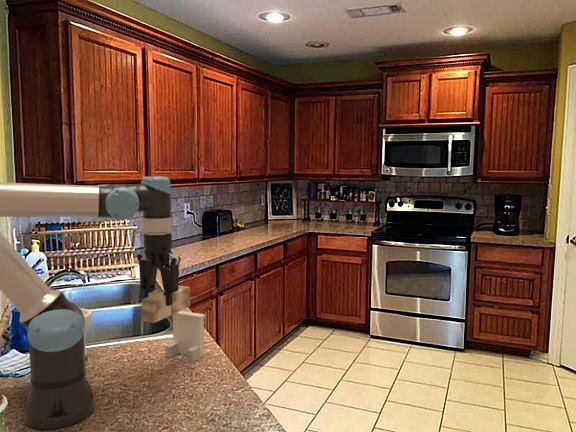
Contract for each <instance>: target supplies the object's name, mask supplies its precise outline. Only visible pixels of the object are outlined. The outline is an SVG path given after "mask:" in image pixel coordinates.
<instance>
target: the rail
mask: <svg viewBox="0 0 576 432" xmlns="http://www.w3.org/2000/svg"><path fill="white" fill-rule="evenodd" d="M190 288H191V287H190V286H184V285H179V290H178V291H177V292H174V293H173V294H172V300H173V303H172V305H171V316H173V314H175V313H177V312H180V311H184V310H186V309H188V308H190V307H191V291H190V290H191V289H190ZM168 290H169V289H168ZM163 293H164V290H163V291H161V292H157V294H155V295H153V296H150V297H147V296H146V297H144V298H143V299H141V314H142V316H141V317H142V318H141V320H142V322H146V323H151V324H153V323H154V324H155V323H157V322H159V321H161V320H164V319H165V318H163V312H162V295H163Z"/></svg>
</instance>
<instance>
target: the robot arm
mask: <svg viewBox="0 0 576 432" xmlns="http://www.w3.org/2000/svg"><path fill="white" fill-rule="evenodd" d="M140 212H141V213H142V224H143V226H142V228H143V229H142V230H143V232H144V234H143V247H144V248H145V250H144V252H143V253H139V254H136V258H137V261H138V268H139V283H140V286H139V287H140V289H141V290H144V291H145V292H146V298H147V297H150V296H153V295H155V294H158V290H157V287H156V281H157V275H158V271H159V272H160V277H161V283H162V287H163V291H164V293H163V295H162V312H163V318H164V319H166V318H168V317H172V315H171V305H172V303H173V300H172V294H173V293H174V292H177V291H178V290H179V286H180V284H179V282H180V281H179V280H180V279H179V278H180V277H179V275H180V273H179V272H180V268H179V266H180V262H181V260H182V259H181V257H180V256H176V255H173V252H172V246H173V234H172V232H171V231H172V229H173V228H172V227H173V226H172V225H173V224H172V192H171V180H170V178H169V177H167V176H143V177H142V179H141V181H140V183H136V184H135V183H133V184H131V183H130V184H128V183H125V184H123V183H121V184H119V183H118V184H114V183H113V184H111V183H106V184H97V185H84V184H83V185H81V184H80V185H79V184H77V185H76V184H54V183H53V184H51V183H50V184H49V183H27V182H26V183H25V182H24V183H23V182H1V181H0V218H101V219H103V218H105V219H106V218H107V219H115V220H122V221H123V220H128V219H131V218H133V217H134V216H135V215H136V214H137V213H140ZM168 289H169V290H168ZM0 292H1V293H2V295H4V296H5V297H6V299H8V300H9V301H10V303H11V304H12V305H13V306H14V307H15V308H16V309H17V311H18V312H19V314H20V315H19V320H18V321H19V323H20V324H21V325H22V326H23V327H24V328H25V329H26V330H27V340H28V346H29V349H28V352H29V369H30V390H29V393H28V398H27V401H26V404H25V406H24V409H23V419H24V423H25V425H26V426H28V427H30V428H33V429H37V430H55V429H62V428H65V427H69V426H72V425H75V424H77V423H79V422H80V421H83V420H85V419H86V418H88V417H89V416H91V414H92V413H93V412H94V410H95V405H96V403H95V395H94V393H93V392H92V389H91V386H90V383H89V381H88V380H87V377H86V376H87V375H86V357H85V348H84V330H85V327H84V326H85V319H84V316H83V313H82V311H81V309H82V308H80V307H79V306H78V305H77V304H76V303H75V302H74V301H72V300H69V299H68V298H67V296H66V295H64V293H63V292H62V291H61V290H59V289H51V288H50V287H49V286H48V285H47V284H46V283H45V281H44V280H43V279H42V278H41V277H40V276H39V274H38V273H36V271H35V270H34V269H33V268H32V266H30V265H29V263H28V262H27V261H26V260H25V258H23V257H22V255H21V254H20V253H19V252H18V251H17V250H16V248H15V247H14V245H12V244H11V243H10V242H9V240H8V239H7V238H6V237H5V236H4V235H3V234H2V233H1V232H0Z"/></svg>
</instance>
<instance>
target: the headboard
mask: <svg viewBox="0 0 576 432" xmlns="http://www.w3.org/2000/svg"><path fill="white" fill-rule="evenodd" d="M204 319H206V314H204V313H197V312H191V311H190V312H189V311H184V310H182V311H180V312H177V313H175V314H173V315H172V342H169V343H168V344H166V345H165V346H164V350H165V351H164V354H165V357H164V358H169V359H171V358H174V357H175V356H177V355H178V354H180V355H185V356H186V359H187V363H194V362H196V361H197V360H199V359H200V358H202V357H204V356H205V337H204V336H205V335H204V334H205V332H204V331H205V328H204V322H205V321H204Z"/></svg>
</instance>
